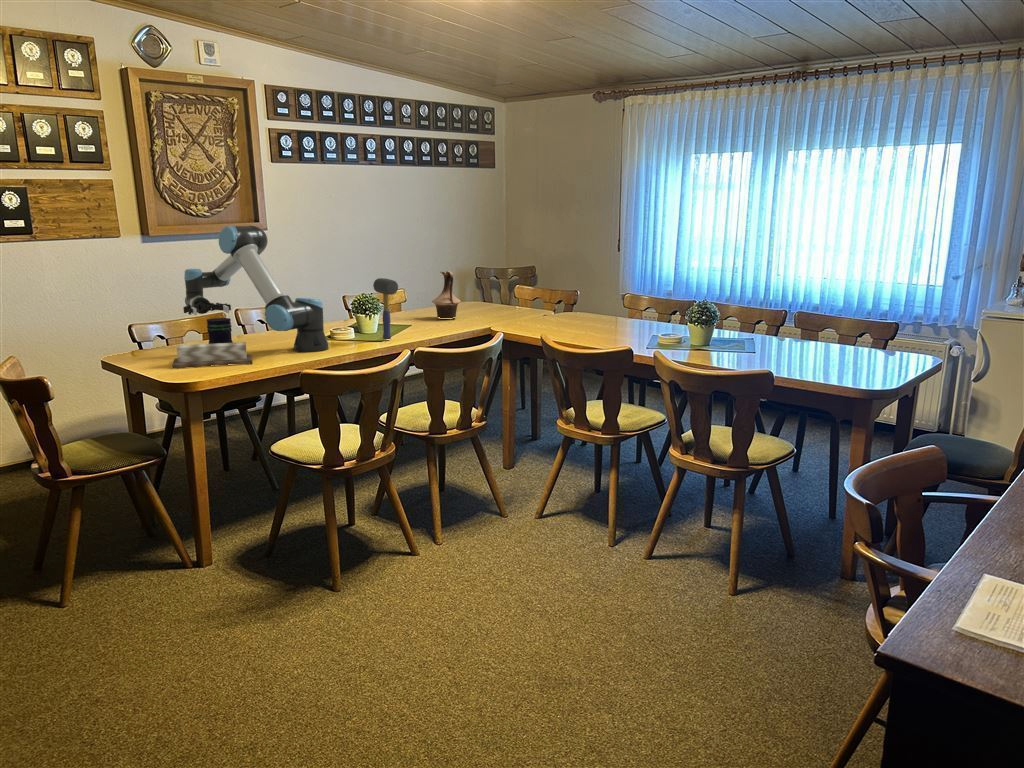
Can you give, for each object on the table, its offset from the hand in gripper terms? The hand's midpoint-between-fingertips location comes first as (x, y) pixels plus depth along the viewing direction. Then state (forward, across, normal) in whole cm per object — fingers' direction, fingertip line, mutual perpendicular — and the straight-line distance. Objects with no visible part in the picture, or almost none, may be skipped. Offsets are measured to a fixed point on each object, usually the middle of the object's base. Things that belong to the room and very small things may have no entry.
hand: (212, 311), depth 322 cm
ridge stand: (+28, +8, -17) cm, 34 cm away
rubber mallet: (+18, -76, -17) cm, 80 cm away
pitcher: (-26, -136, -17) cm, 140 cm away
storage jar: (+10, 0, -18) cm, 20 cm away
